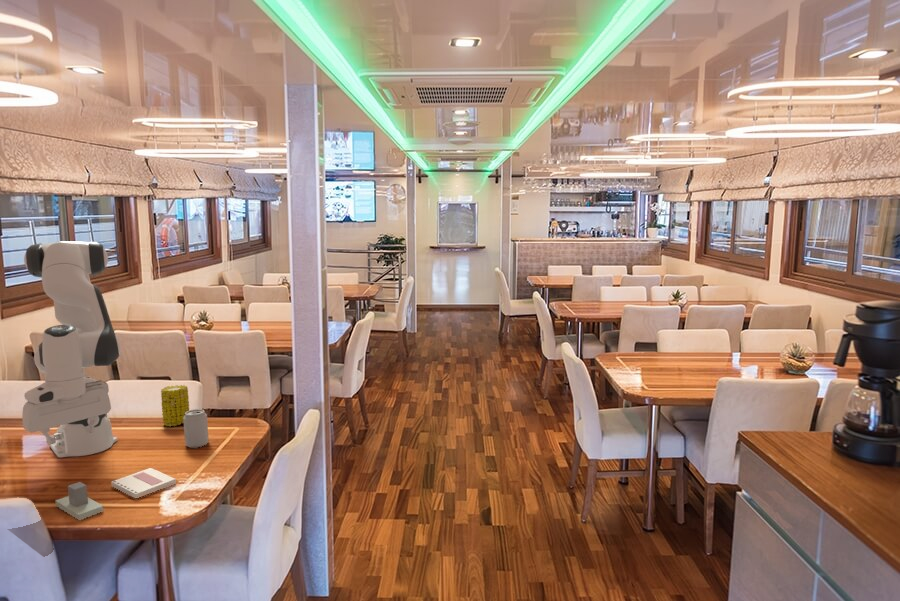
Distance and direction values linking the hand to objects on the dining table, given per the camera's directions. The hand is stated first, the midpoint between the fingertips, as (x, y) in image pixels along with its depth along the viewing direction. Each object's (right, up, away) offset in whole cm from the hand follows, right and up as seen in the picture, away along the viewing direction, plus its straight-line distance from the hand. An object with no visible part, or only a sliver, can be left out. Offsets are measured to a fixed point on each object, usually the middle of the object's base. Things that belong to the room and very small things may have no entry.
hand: (71, 438), depth 160 cm
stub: (0, -20, +3) cm, 20 cm away
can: (+13, -14, +48) cm, 51 cm away
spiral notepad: (+11, -18, +17) cm, 27 cm away
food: (-4, -10, +70) cm, 71 cm away
